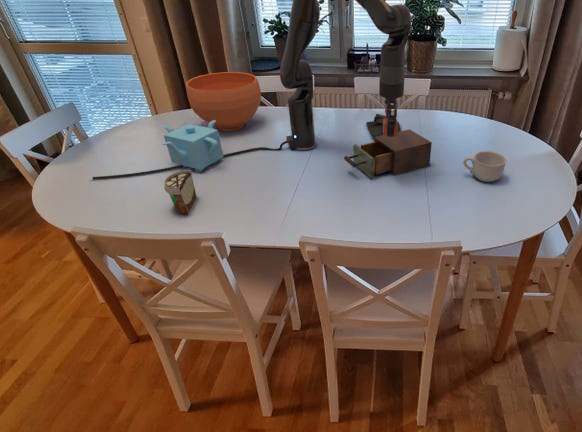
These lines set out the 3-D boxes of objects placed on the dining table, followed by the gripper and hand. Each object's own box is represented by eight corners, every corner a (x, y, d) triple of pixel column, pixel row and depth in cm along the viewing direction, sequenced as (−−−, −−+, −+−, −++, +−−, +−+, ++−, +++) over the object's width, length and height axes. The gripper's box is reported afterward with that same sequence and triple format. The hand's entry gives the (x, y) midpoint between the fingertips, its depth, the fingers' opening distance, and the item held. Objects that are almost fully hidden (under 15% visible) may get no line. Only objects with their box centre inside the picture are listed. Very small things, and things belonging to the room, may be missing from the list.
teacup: (502, 173, 141) (507, 153, 136) (501, 187, 132) (505, 166, 128) (463, 167, 145) (466, 147, 140) (459, 181, 136) (462, 160, 132)
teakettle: (226, 170, 143) (217, 132, 135) (170, 179, 137) (158, 140, 129) (223, 150, 158) (215, 114, 149) (172, 157, 152) (161, 120, 144)
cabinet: (393, 175, 140) (394, 151, 135) (373, 159, 150) (374, 137, 145) (429, 165, 146) (431, 142, 141) (408, 151, 156) (409, 129, 151)
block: (397, 136, 126) (397, 123, 124) (383, 136, 126) (384, 123, 124) (396, 131, 130) (396, 118, 127) (383, 131, 130) (383, 118, 127)
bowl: (270, 114, 191) (264, 71, 180) (257, 139, 167) (249, 90, 155) (208, 115, 191) (198, 71, 179) (186, 139, 166) (173, 91, 155)
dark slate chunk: (367, 141, 164) (367, 131, 161) (366, 122, 182) (366, 113, 180) (403, 141, 164) (404, 130, 162) (398, 122, 183) (399, 112, 180)
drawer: (357, 181, 134) (356, 162, 130) (340, 166, 143) (339, 147, 139) (405, 168, 142) (406, 150, 138) (387, 155, 151) (387, 137, 147)
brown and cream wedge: (179, 197, 127) (170, 169, 122) (198, 196, 128) (190, 168, 122) (166, 218, 117) (156, 189, 112) (187, 217, 118) (178, 188, 112)
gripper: (378, 73, 124) (377, 125, 134) (380, 86, 112) (379, 142, 122) (402, 73, 124) (399, 125, 134) (406, 86, 112) (403, 142, 122)
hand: (390, 132), depth 128 cm, fingers closed on block, 4 cm apart
